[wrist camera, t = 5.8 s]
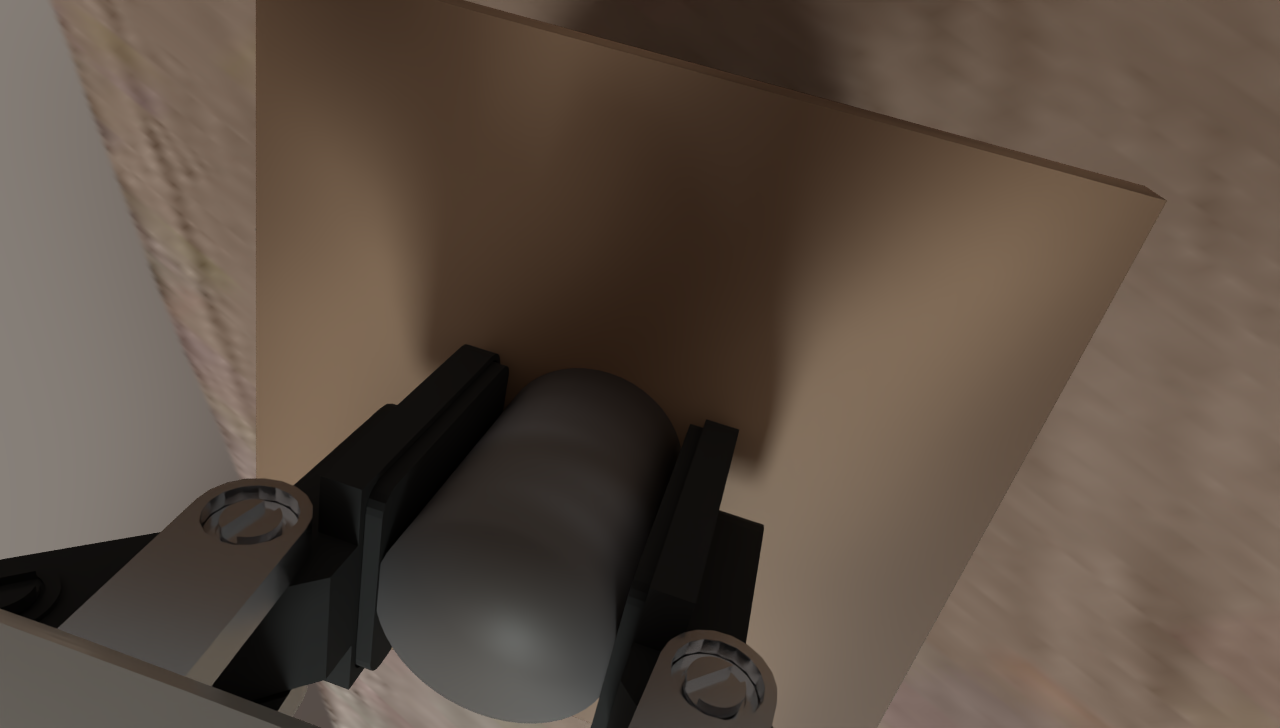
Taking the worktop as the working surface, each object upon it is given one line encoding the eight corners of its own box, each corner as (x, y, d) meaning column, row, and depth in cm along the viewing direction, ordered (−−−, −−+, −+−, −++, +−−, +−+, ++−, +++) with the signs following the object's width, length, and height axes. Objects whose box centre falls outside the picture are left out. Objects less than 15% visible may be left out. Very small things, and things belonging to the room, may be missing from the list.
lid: (1144, 185, 10) (1358, 325, 6) (831, 775, 16) (824, 1066, 11) (292, -47, 11) (-36, -69, 7) (280, 573, 17) (91, 767, 13)
